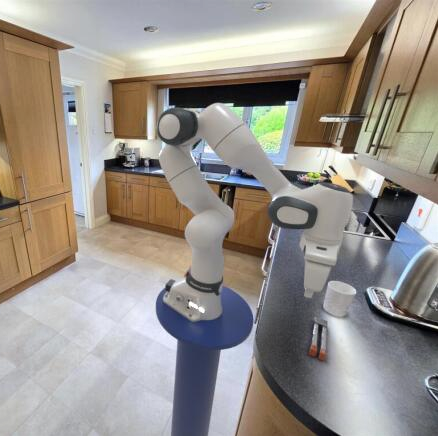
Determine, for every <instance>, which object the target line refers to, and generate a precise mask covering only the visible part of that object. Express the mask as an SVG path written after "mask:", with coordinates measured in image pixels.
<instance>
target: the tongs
mask: <svg viewBox="0 0 438 436" xmlns="http://www.w3.org/2000/svg"><path fill="white" fill-rule="evenodd" d="M328 322H329V321H328V320H326V319H323V318H320V317H318V316H315V317H314V320H313V322H312V333H311V334H312V335H311V343H310V344H311V345H310V348H309V352H308V355H309V356H311V357H314V358H316V355H317V353H318V357H317V359H318V360H320V361H323V362H325V361H326V357H327V329H328ZM319 332H320V340H319V341H320V342H319V351H318V346H317V345H318V333H319Z"/></svg>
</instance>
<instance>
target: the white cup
mask: <svg viewBox="0 0 438 436" xmlns="http://www.w3.org/2000/svg"><path fill="white" fill-rule="evenodd" d="M356 294H357V290H356V288H355V287H354V286H352V285H350V284H348V283H346V282H343V281H339V280H330V281H328V282H327V287H326V291H325V295H324V301H323V305H322V307H323V309H324V311H325V312H327V313H328V314H330V315H332V316H335V317H339V318H343V317H346V316H347V313H348V311H349V310H350V307H351V306H352V304H353V301H354V299H355V297H356Z"/></svg>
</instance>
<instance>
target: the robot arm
mask: <svg viewBox="0 0 438 436" xmlns="http://www.w3.org/2000/svg"><path fill="white" fill-rule="evenodd" d="M155 128H156V129H155V130H156V133H157V136H158V138H159V140H160V141H161V142H163V143H164V144H166V145H165V146H164V147H162V149H161V150H160V151H159V154H158V161H159V165H160V167H161V171H162V172H163V175H164V177H165V179H166V181H167V183H168V184H169V187H170V188H171V190H172V191H173V194H174V195H175V197H176V199H177V200H178V203H180V204H181V205H183V206H185V207H187V209H189V211H190V212H191V213H192V214H193V215H194V216H193V217H192V218H191V219H190V220H189V222H188V223H187V224H186V227H185V229H184V238H185V241H186V242H187V244H188V245H189V246H190V250H191V263H190V264H191V265H190V266H189V267H188V268H189V269H187V270H186V272H185V273H184V275H183V276H181V277H180V278H178V279H176V280H175V279H172V278H170V279H169V280H168V281H167V282H166V283H165V286H164V288H165V290H166V291H167V292H166V293H165V295H164V297H163V302H164V303H166V304H167V305H168V306H170V307H171V308H173V309H174V310H176V311H177V312H179V313H180V314H182V315H183V316H184V317H186V318H187V319H189V320H190V321H192V322H196V321H200V320H213V319H216V318H218V317H219V316H220V315H221V314H222V305H221V291H222V287H223V286H224V276H223V274H224V266H225V259H226V258H225V256H224V254H223V253H224V252H223V242H224V239H225V237H226V235H227V234H228V233H229V232H230V231H231V229H232V228H233V227H234V223H235V220H236V219H235V218H236V217H235V212H234V210H233V209H232V208H231V206H229V205H228V204H226V203H225V202H224V201H223V200H222V198H220V197H219V196H218V195H217V193H216V192H215V191H214V190H213V188H212V187H211V186H210V184H209V183H208V181H207V179H206V178H205V176H204V174H203V172H202V171H201V168H199V165H198V164H197V162H196V160H195V159H194V157H193V155H192V151H193V150H195V149H196V148H197V147H198V146H199V144H200V143H201V142H202V141H204V142H205V143H206V144H207V145H208V146H209V147H210V148H211V150H212V151H213V152H214V154H215V155H216V156H217V157H218V158H219V160H221V161H222V162H223V163H224V164H225V165H227V166H228V167H230V168H232V169H237V170H242V171H244V172H247V173H249V174H250V175H252V176H253V177H254V178H255V179H256V180H257V181H258V182H259V183H260V184H261V186H262V187H264V189H265V190H266V191H267V192H268V193H269V194H270V196H271V199H272V200H271V201H270V203H269V205H268V207H267V216H268V219H269V220H270V222H271V223H272V224H273V225H274V226H276V227H278V228H280V229H285V230H302V232H301V237H300V241H299V244H298V246H299V248H300V249H301V251H302V255H303V259H304V275H303V277H304V278H303V288H304V291H303V296H304V298H307V299H312V298H313V296H314V293H320V292H322V290H323V289H324V287H325V285H326V282H327V281H328V278H329V275H330V272H331V269H332V266H336V264H337V261H338V256H339V253H340V250H341V247H342V244H343V240H344V237H345V236H344V230H345V227H346V226H347V225H348V224H349V222H350V217H351V213H352V209H353V204H354V195H353V193H352V192H351V191H350V189H348V188H347V187H345V186H342V185H340V184H335V183H333V182H325V181H323V182H318V183H317V184H314V185H311V186H309V187H305V188H304V187H302V186H300V185H298V184H296V183H294V182H292V181H291V180H289V179H288V178H287V177H286V176H285V175H284V174H283V172H281V171H280V169H279V168H278V167H277V166H276V165H275V164H274V162H273V161H272V160H271V159H270V158H269V156H268V155H267V154H266V152H265V150H264V149H263V147H262V145H261V144H260V142H259V141H258V139H257V137H256V135H255V134H254V132H253V131H252V130H251V129H250V127H249V126H248V124H246V122H245V121H244V120H243V119H242V118H241V117H240V116H239V115H238V114H237V113H236V112H235V111H234V110H232V109H231V108H229V107H228V106H227V105H226V104H224V103H222V102H215V103H212V104H210V105H208V106H207V107H206V108H204V110H203V111H202V112H200V111H197V110H194V109H191V108H186V107H184V108H182V107H171V108H168V109H165V110H164V111H163V112H162V113H161V114H160V115H159V116H158V118H157V121H156V127H155Z"/></svg>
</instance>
